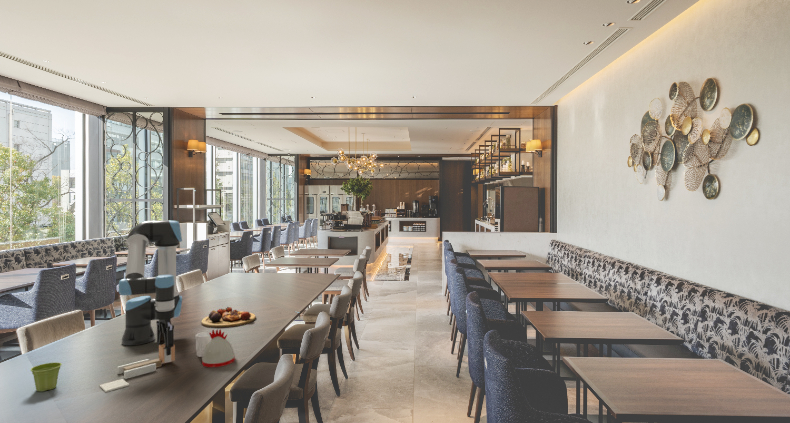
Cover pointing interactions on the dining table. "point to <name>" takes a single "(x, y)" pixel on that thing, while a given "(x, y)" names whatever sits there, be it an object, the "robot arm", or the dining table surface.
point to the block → (161, 353)
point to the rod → (144, 364)
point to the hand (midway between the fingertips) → (165, 360)
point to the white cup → (202, 342)
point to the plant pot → (46, 376)
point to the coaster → (114, 385)
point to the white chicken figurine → (218, 351)
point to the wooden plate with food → (227, 318)
